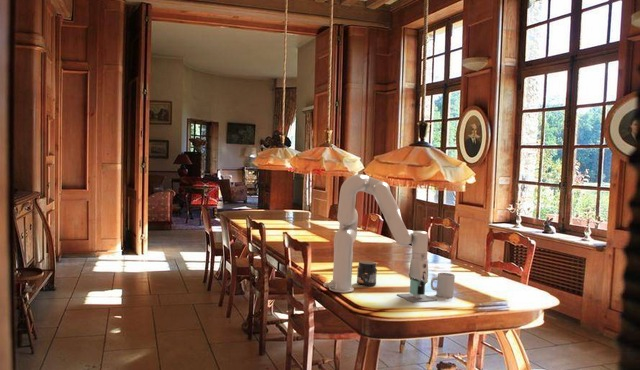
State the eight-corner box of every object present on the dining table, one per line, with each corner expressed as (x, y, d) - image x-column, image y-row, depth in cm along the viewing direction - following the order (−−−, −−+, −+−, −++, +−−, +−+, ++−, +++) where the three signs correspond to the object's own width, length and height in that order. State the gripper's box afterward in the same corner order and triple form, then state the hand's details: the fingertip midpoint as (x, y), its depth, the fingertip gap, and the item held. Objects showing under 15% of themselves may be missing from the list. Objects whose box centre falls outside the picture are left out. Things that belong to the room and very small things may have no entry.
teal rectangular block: (415, 295, 261) (416, 281, 261) (409, 292, 266) (410, 279, 265) (424, 294, 263) (425, 281, 263) (418, 292, 268) (419, 279, 268)
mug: (450, 293, 277) (451, 272, 276) (456, 298, 268) (457, 276, 268) (427, 293, 276) (428, 272, 275) (432, 297, 267) (434, 275, 267)
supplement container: (353, 282, 291) (354, 260, 291) (370, 282, 295) (372, 260, 294) (361, 287, 281) (362, 264, 281) (379, 286, 285) (380, 264, 285)
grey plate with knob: (412, 302, 255) (413, 290, 255) (396, 295, 268) (397, 283, 268) (436, 300, 261) (437, 288, 261) (420, 293, 274) (420, 281, 274)
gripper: (435, 259, 257) (433, 296, 258) (415, 252, 273) (413, 288, 274) (422, 259, 254) (420, 297, 255) (403, 253, 270) (401, 289, 271)
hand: (417, 292), depth 264 cm, fingers closed on teal rectangular block, 5 cm apart
